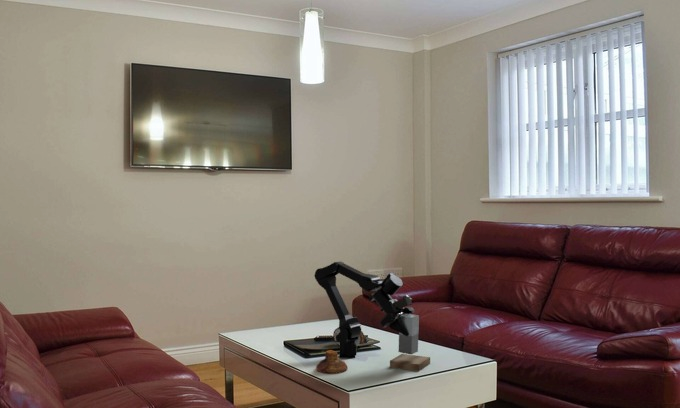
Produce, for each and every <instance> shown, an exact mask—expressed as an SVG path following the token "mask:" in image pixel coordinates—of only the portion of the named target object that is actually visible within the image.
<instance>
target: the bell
mask: <svg viewBox="0 0 680 408" xmlns="http://www.w3.org/2000/svg"><path fill="white" fill-rule="evenodd" d="M315 370H316V372H318V373H321V374H326V375H327V374H328V375H334V374H337V375H338V374H342V373H344V372H346V371H348V365H347V363H346V362H345V361H343V359H342V360H341V359H340V357H339V354H338V352H337V351H334V350H332V349H331V350H330V349H329V350H326V351H325V357H324V359H322V360H320V361H319V362H318V363H317V364H316V368H315Z"/></svg>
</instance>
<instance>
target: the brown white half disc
mask: <svg viewBox="0 0 680 408" xmlns="http://www.w3.org/2000/svg"><path fill="white" fill-rule="evenodd" d="M339 333H340V329H339V326H338V327H337V328H335V329H334V330H333V340H334V342H335V341H336V336H337V335H338V334H339ZM365 338H366V337H365V334H364V332H363V331H362V330H361V333H360V335H359V338H358V340H355V343H356V344H363V345H364V343H365V341H366V339H365Z"/></svg>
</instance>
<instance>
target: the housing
mask: <svg viewBox="0 0 680 408" xmlns="http://www.w3.org/2000/svg"><path fill="white" fill-rule="evenodd" d="M400 316H401V323H402V324H403V326H404V327H405V329H406V330H407V332H408V334H409V335H408V336H405V335H403V334H401V333H400V332H398V353H401V354H407V355H414V354H416V353H418V352H419V327H420V326H419V325H420V315H418V314H413V313H412V314H403V315H400Z"/></svg>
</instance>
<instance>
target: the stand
mask: <svg viewBox="0 0 680 408" xmlns="http://www.w3.org/2000/svg"><path fill="white" fill-rule="evenodd" d="M429 365H431V356H423V355H414V354H406V353H401V354H399V355H397V356H395V357H394V358H392V359H391V360H389V368H393V369H399V368H400V369H401V370H407V369H408V370H409V371H416V372H420V371H422V370H423V369H424V368H426V367H427V366H429Z"/></svg>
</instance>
